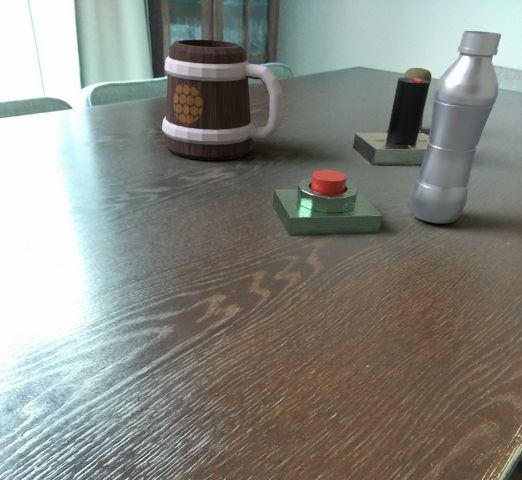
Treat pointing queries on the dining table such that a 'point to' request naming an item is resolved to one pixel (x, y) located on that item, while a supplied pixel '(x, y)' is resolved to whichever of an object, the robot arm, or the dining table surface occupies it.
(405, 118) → the black battery
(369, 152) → the base
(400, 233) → the dining table surface
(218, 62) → the mug
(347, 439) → the dining table surface
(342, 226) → the button box
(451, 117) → the plastic bottle
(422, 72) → the cork
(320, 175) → the button
